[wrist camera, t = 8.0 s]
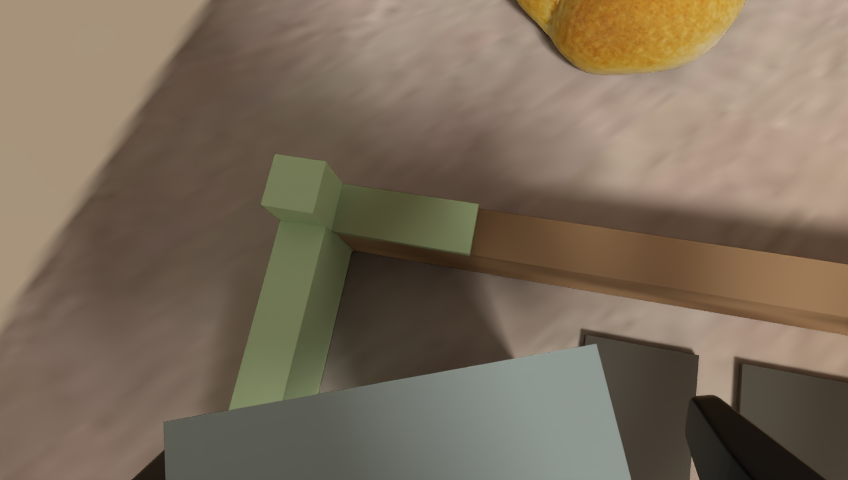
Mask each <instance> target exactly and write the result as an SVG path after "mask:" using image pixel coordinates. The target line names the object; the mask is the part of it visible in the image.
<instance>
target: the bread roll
mask: <svg viewBox="0 0 848 480" xmlns="http://www.w3.org/2000/svg"><path fill="white" fill-rule="evenodd" d="M745 1H746V0H517V2H518V3H519V5H520V6H521V7H522V9H523V10H524V11H525V12H526V13H527V14H528V15H529V16H530V17H531V18H532V19H533V20H534V21H535V22H536V23H537V24H538V25H539V26H540V27H541V28H542V29H543V30H544V32H545V33H546V34H547V35H548V36H549V37H550V38H551V39H552V41H553V43H554V45H555V46H556V47H557V49H558V50H559V51H560V53H561V54H562V55H563V56H564V57H565V58H566V59H567V60H568V61H570V62H571V63H572V64H573V65H574V66H576V67H577V68H579V69H580V70H582V71H584V72H587V73H591V74H597V75H628V74H641V73H651V72H660V71H666V70H671V69H675V68H679V67H682V66H684V65H686V64H688V63H690V62H692V61H694V60H695V59H697V58H699V57H700V56H702V55H703V54H705V53H706V52H708V51H709V50H710V49H711V48H712V47H713V46H715V45H716V44H717V42H718V41H719V40H720V39H721V37H722V36H723V34H724V33H726V31H727V30H728V29H729V27H730V26H731V25H732V23H733V22H734V20H735V19H736V18H737V16H738V14H739V13H740V11H741V9H742V7H743V5H744V3H745Z"/></svg>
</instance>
